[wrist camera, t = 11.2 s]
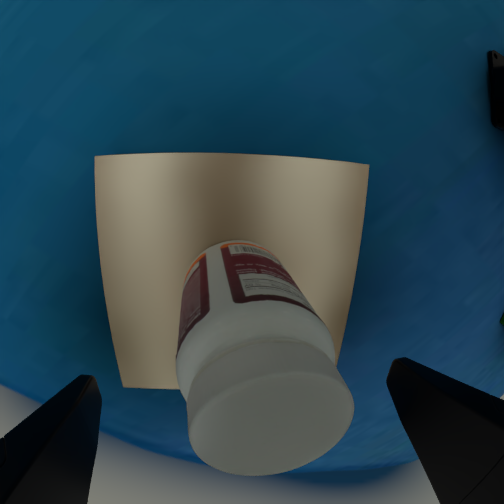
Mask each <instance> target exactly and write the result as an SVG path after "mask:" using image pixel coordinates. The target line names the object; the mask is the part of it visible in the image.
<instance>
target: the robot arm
mask: <svg viewBox="0 0 504 504" xmlns="http://www.w3.org/2000/svg"><path fill="white" fill-rule="evenodd" d="M489 63H490V75H491V92H492V122H493V125H494V126H495V127H497V128H499V129H501V130H503V131H504V57H503V56H502V55H501V54H499V53H498V52H496V51H495V50H492V51H489ZM386 383H387V387H388V389H389V392H390V395H391V397H392V400H393V402H394V405H395V408H396V410H397V413H398V416H399V418H400V421H401V423H402V425H403V427H404V429H405V431H406V433H407V435H408V437H409V439H410V441H411V443H412V445H413V447H414V449H415V451H416V453H417V455H418V457H419V459H420V461H421V463H422V466H423V468H424V470H425V472H426V474H427V476H428V478H429V480H430V482H431V485H432V487H433V489H434V491H435V493H436V496H437V498H438V500H439V502H440V504H504V400H502V399H500V398H497V397H495V396H493V395H490V394H488V393H486V392H483V391H481V390H479V389H476V388H474V387H472V386H469V385H467V384H465V383H462V382H460V381H458V380H455V379H453V378H451V377H449V376H446V375H444V374H442V373H440V372H437V371H435V370H433V369H431V368H428V367H426V366H424V365H422V364H420V363H417V362H415V361H413V360H411V359H408V358H406V357H402V358H397V359H395V360H394V361H393V362H392V365H391V367H390V370H389V373H388V376H387V380H386ZM101 406H102V398H101V394H100V391H99V388H98V385H97V382H96V379H95V377H94V376H92V375H80V376H78V377H77V378H76V379H74V380H73V381H72V382H71V383H69V384H68V385H67V386H66V387H64V388H63V389H62V390H61V391H59V392H58V393H57V394H56V395H54V396H53V397H52V398H51V399H49V400H48V401H47V402H46V403H44V404H43V405H42V406H41V407H39V408H38V409H37V410H36V411H34V412H33V413H32V414H31V415H29V416H28V417H27V418H26V419H24V420H23V421H22V422H21V423H19V424H18V425H17V426H16V427H15V428H13V429H12V430H11V431H10V432H8V433H7V434H6V435H5V436H4V438H1V439H0V504H87V502H88V495H89V489H90V483H91V477H92V472H93V467H94V461H95V457H96V451H97V445H98V434H99V424H100V415H101Z"/></svg>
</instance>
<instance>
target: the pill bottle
mask: <svg viewBox="0 0 504 504" xmlns="http://www.w3.org/2000/svg"><path fill="white" fill-rule="evenodd" d="M176 375H177V381H178V385H179V388H180V391H181V393H182V395H183V397H184V399H185V400H186V402H187V413H188V433H189V440H190V443H191V445H192V448H193V450H194V451H195V453H196V454H197V455H198V457H199V458H200V459H201V460H203V461H204V462H205V463H206V464H208V465H210V466H212V467H214V468H216V469H218V470H221V471H224V472H227V473H231V474H237V475H246V476H261V475H271V474H277V473H282V472H286V471H289V470H292V469H295V468H298V467H301V466H303V465H305V464H307V463H309V462H311V461H313V460H315V459H317V458H318V457H320V456H322V455H323V454H325V453H326V452H327V451H328V450H330V449H331V448H332V447H333V446H334V445H336V444H337V443H338V441H339V440H340V439H341V438H342V437H343V435H344V434H345V433H346V431H347V430H348V428H349V426H350V423H351V421H352V418H353V414H354V402H353V397H352V395H351V392H350V390H349V389H348V387H347V385H346V383H345V382H344V380H343V378H342V377H341V375H340V373H339V372H338V370H337V368H336V366H335V350H334V343H333V340H332V338H331V335H330V332H329V330H328V328H327V327H326V325H325V324H324V322H323V321H322V320H321V319H320V317H319V316H318V315H317V313H316V312H315V311H314V309H313V308H312V306H311V305H310V303H309V302H308V300H307V299H306V298H305V296H304V295H303V293H302V292H301V291H300V289H299V288H298V286H297V284H296V283H295V282H294V280H293V279H292V277H291V276H290V275H289V273H288V272H287V270H286V268H285V267H284V266H283V265H282V263H281V262H280V261H279V259H278V258H277V257H276V256H275V255H274V254H273V253H272V252H271V251H269V250H268V249H266V248H265V247H263V246H261V245H259V244H257V243H253V242H251V241H245V240H232V241H226V242H222V243H219V244H216V245H214V246H211V247H209V248H207V249H206V250H204V251H203V252H202V253H201V254H200V255H199V256H198V257H197V258H196V259H195V260H194V261H193V262H192V264H191V265H190V267H189V269H188V271H187V273H186V276H185V279H184V283H183V290H182V300H181V310H180V323H179V334H178V345H177V354H176Z"/></svg>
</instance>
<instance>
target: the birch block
mask: <svg viewBox="0 0 504 504" xmlns="http://www.w3.org/2000/svg"><path fill="white" fill-rule="evenodd" d="M368 173H369V165H366V164H359V163H352V162H344V161H335V160H326V159H315V158H304V157H292V156H277V155H260V154H238V153H138V154H116V155H103V156H95V198H96V217H97V231H98V243H99V253H100V263H101V271H102V279H103V286H104V293H105V300H106V306H107V312H108V318H109V324H110V329H111V334H112V340H113V344H114V349H115V354H116V358H117V363H118V367H119V371H120V376H121V380H122V384H123V387H131V388H153V389H180V388H179V385H178V381H177V375H176V354H177V345H178V334H179V323H180V310H181V300H182V290H183V283H184V279H185V276H186V273H187V271H188V269H189V267H190V265H191V264H192V262H193V261H194V260H195V259H196V258H197V257H198V256H199V255H200V254H201V253H202V252H203V251H204V250H206V249H207V248H209V247H211V246H214V245H216V244H219V243H222V242H226V241H232V240H245V241H251V242H253V243H257V244H259V245H261V246H263V247H265V248H266V249H268V250H269V251H271V252H272V253H273V254H274V255H275V256H276V257H277V258H278V259H279V261H280V262H281V263H282V265H283V266H284V267H285V268H286V270H287V272H288V273H289V275H290V276H291V277H292V279H293V280H294V282H295V283H296V284H297V286H298V288H299V289H300V291H301V292H302V293H303V295H304V296H305V298H306V299H307V300H308V302H309V303H310V305H311V306H312V308H313V309H314V311H315V312H316V313H317V315H318V316H319V317H320V319H321V320H322V321H323V322H324V324H325V325H326V327H327V328H328V330H329V332H330V335H331V338H332V340H333V343H334V350H335V366H336V365H337V361H338V357H339V353H340V349H341V344H342V340H343V335H344V331H345V326H346V321H347V317H348V312H349V307H350V301H351V296H352V291H353V285H354V280H355V274H356V268H357V262H358V255H359V249H360V242H361V235H362V228H363V220H364V212H365V203H366V194H367V184H368Z"/></svg>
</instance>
